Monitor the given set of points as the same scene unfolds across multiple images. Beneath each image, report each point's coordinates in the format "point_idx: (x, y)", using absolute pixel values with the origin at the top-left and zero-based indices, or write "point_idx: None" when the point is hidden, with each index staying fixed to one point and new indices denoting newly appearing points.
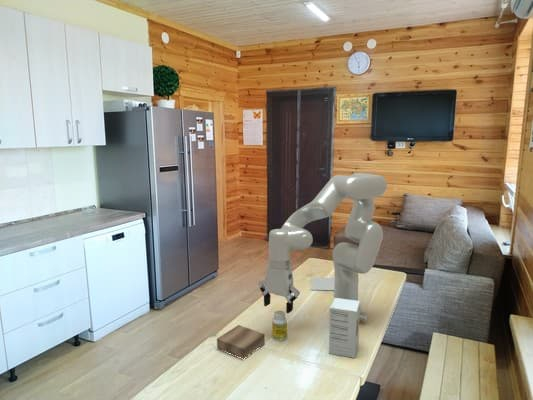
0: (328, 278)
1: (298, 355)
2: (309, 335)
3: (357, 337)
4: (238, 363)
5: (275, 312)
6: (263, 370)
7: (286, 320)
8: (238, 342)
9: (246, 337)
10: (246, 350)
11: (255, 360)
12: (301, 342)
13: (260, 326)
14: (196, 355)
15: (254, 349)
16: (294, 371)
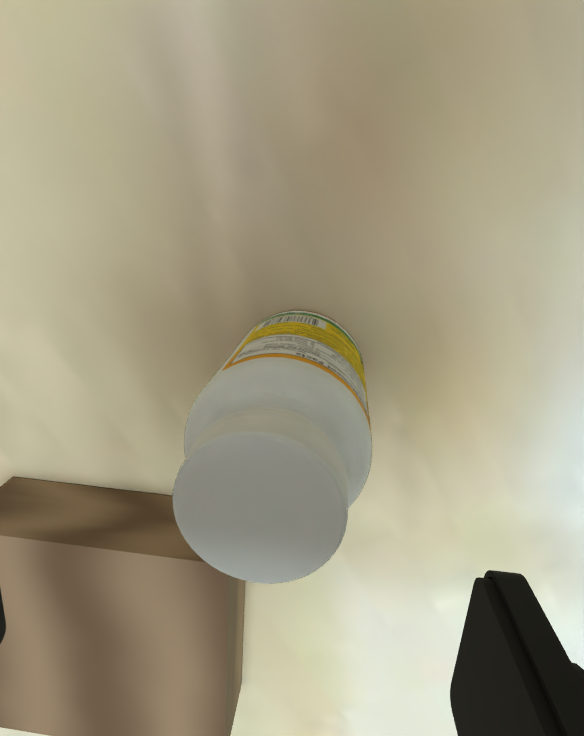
0: None
1: (546, 527)
2: (545, 197)
3: None
4: None
5: (193, 521)
6: (394, 719)
7: (368, 443)
8: (139, 719)
9: (140, 653)
10: (230, 718)
11: (301, 665)
12: (508, 355)
13: (49, 284)
14: None
15: (240, 619)
16: None
